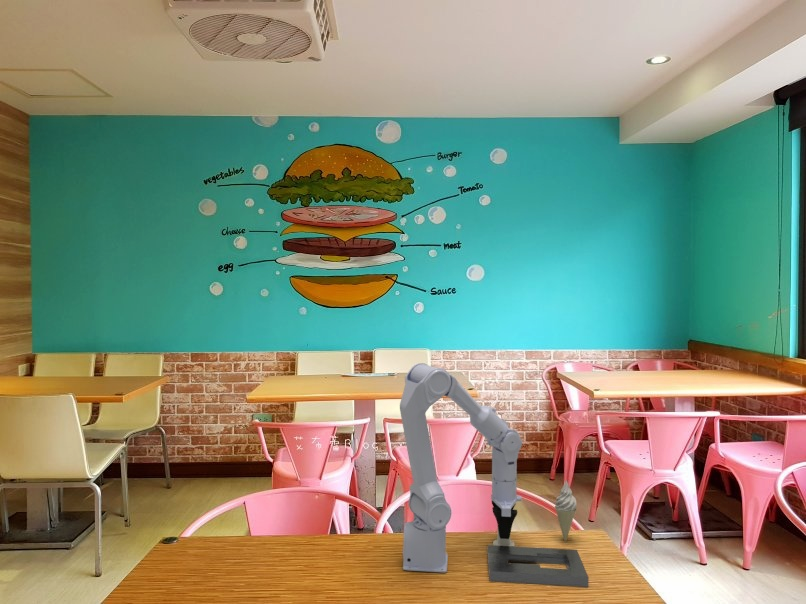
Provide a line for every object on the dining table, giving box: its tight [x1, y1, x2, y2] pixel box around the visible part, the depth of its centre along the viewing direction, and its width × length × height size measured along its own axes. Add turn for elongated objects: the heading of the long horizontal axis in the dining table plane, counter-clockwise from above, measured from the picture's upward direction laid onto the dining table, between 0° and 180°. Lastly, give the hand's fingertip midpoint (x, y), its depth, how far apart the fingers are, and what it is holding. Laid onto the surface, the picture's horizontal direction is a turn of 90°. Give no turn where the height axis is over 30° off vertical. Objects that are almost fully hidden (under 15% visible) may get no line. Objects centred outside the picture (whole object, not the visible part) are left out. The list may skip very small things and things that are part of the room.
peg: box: [492, 530, 515, 546], centre depth 131 cm, size 5×5×8 cm
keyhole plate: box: [486, 544, 589, 588], centre depth 121 cm, size 20×12×2 cm, turn 83°
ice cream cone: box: [554, 479, 577, 542], centre depth 135 cm, size 5×5×15 cm
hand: (503, 534), depth 131 cm, fingers closed on peg, 3 cm apart
